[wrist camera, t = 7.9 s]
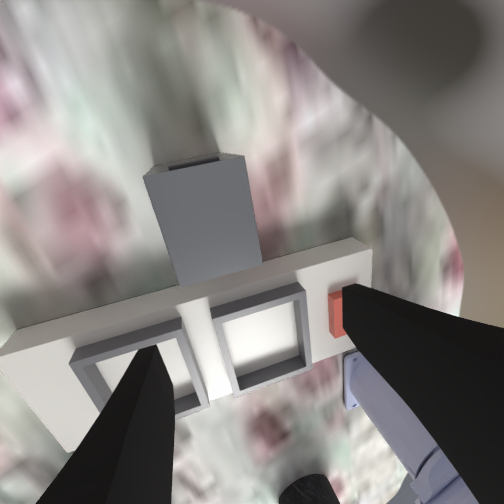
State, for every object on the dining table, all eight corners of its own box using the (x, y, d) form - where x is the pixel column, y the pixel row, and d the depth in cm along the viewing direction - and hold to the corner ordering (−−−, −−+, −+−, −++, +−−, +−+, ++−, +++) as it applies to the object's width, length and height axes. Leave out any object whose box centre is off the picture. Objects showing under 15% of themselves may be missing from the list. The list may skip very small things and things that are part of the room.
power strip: (351, 237, 21) (385, 254, 17) (351, 324, 24) (378, 352, 21) (16, 329, 16) (-24, 376, 13) (79, 419, 20) (60, 472, 17)
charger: (220, 149, 16) (243, 151, 10) (236, 228, 18) (262, 264, 12) (153, 163, 15) (141, 172, 10) (178, 243, 17) (180, 287, 12)
